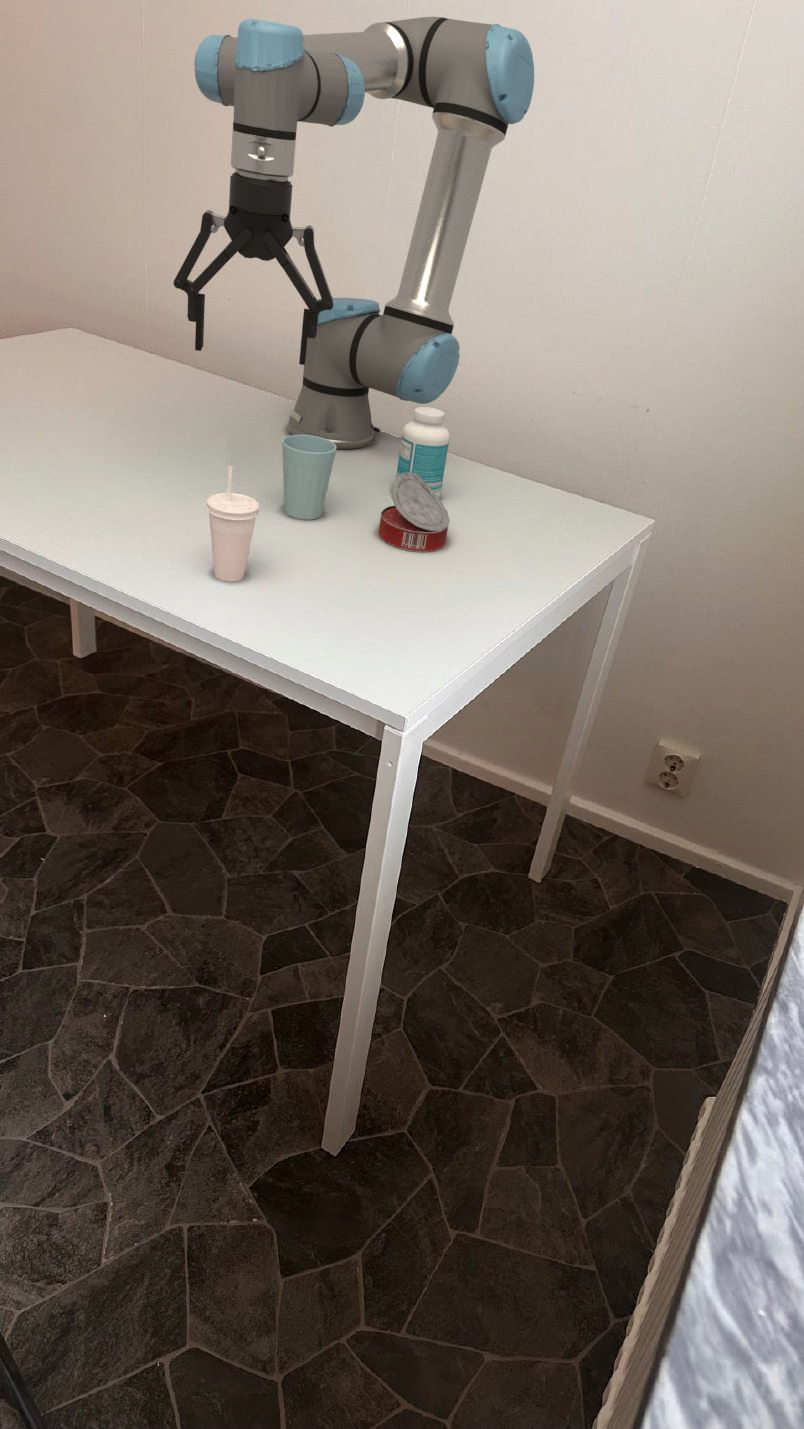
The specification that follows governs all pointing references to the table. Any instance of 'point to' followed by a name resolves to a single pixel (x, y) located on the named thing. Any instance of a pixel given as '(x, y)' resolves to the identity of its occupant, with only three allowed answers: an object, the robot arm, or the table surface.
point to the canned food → (414, 516)
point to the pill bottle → (425, 447)
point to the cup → (306, 474)
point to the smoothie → (231, 531)
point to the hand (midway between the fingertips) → (251, 355)
